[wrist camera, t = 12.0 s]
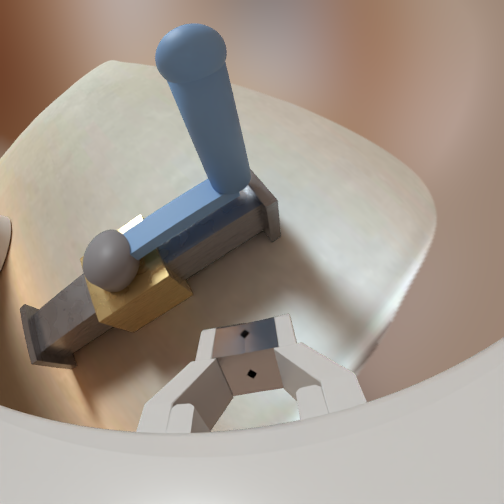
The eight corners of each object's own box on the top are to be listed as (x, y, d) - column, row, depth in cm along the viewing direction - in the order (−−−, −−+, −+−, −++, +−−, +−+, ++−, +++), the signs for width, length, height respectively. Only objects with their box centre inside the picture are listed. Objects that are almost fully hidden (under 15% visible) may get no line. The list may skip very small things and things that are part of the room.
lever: (104, 302, 19) (-41, 222, 7) (90, 258, 20) (-27, 168, 8) (268, 197, 20) (238, 21, 8) (238, 162, 22) (197, 10, 10)
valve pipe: (72, 370, 23) (32, 366, 17) (56, 319, 25) (19, 306, 20) (282, 238, 25) (279, 202, 20) (245, 191, 28) (235, 152, 22)
